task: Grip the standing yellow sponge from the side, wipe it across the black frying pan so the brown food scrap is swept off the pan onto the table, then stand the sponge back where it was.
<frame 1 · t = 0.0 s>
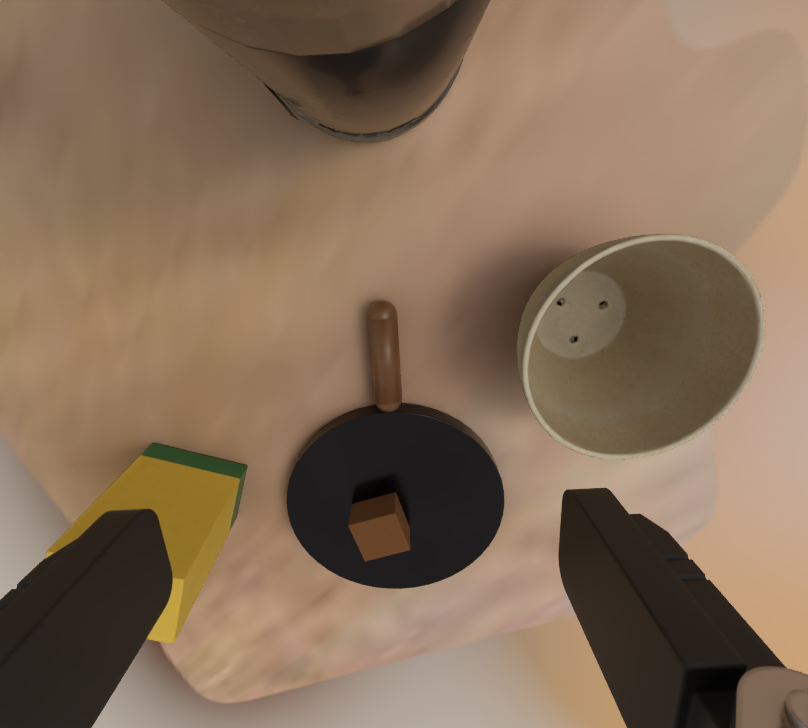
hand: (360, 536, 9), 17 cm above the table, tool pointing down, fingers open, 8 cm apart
flower pot: (576, 313, 25), on the table
crumb: (380, 515, 28), point 1 cm above the table, touching pan
sponge: (196, 481, 29), on the table
pan: (396, 496, 29), on the table
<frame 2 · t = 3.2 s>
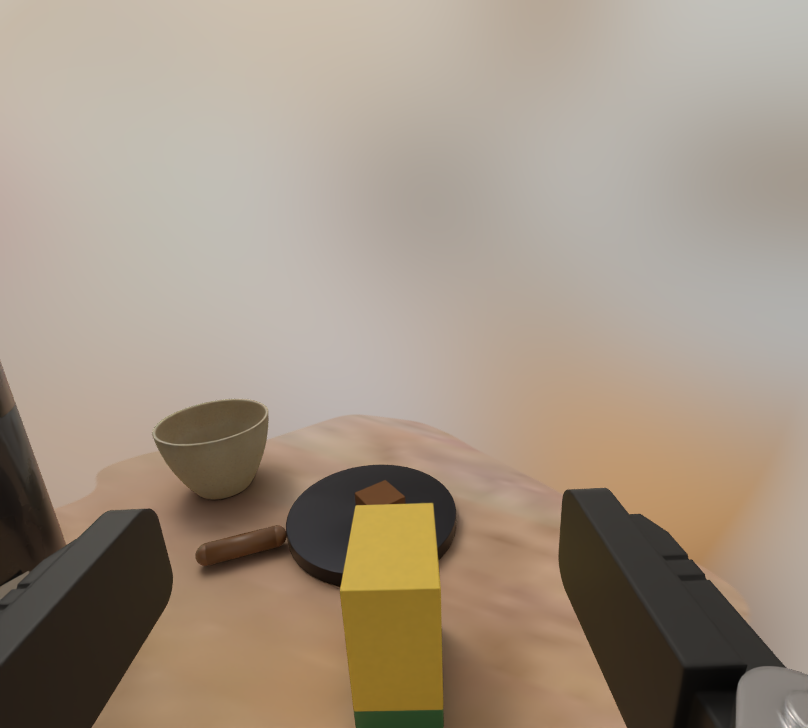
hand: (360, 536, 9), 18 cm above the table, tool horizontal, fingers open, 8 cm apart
flower pot: (226, 486, 43), on the table
crumb: (381, 515, 36), point 1 cm above the table, touching pan
sponge: (400, 671, 25), on the table
pan: (372, 521, 37), on the table
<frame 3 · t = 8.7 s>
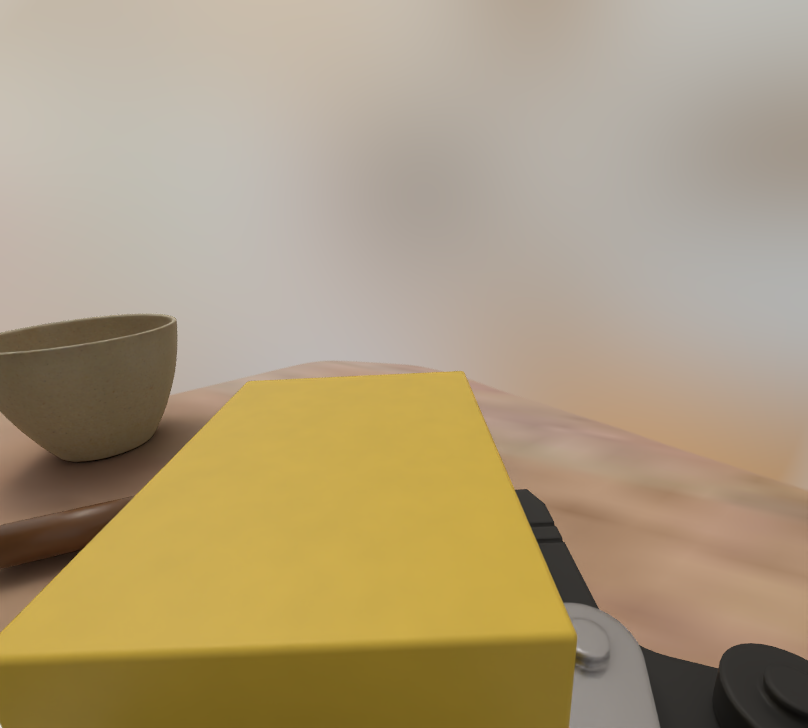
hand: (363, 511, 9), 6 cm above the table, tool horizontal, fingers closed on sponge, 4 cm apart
flower pot: (111, 444, 27), on the table
pan: (338, 487, 21), on the table
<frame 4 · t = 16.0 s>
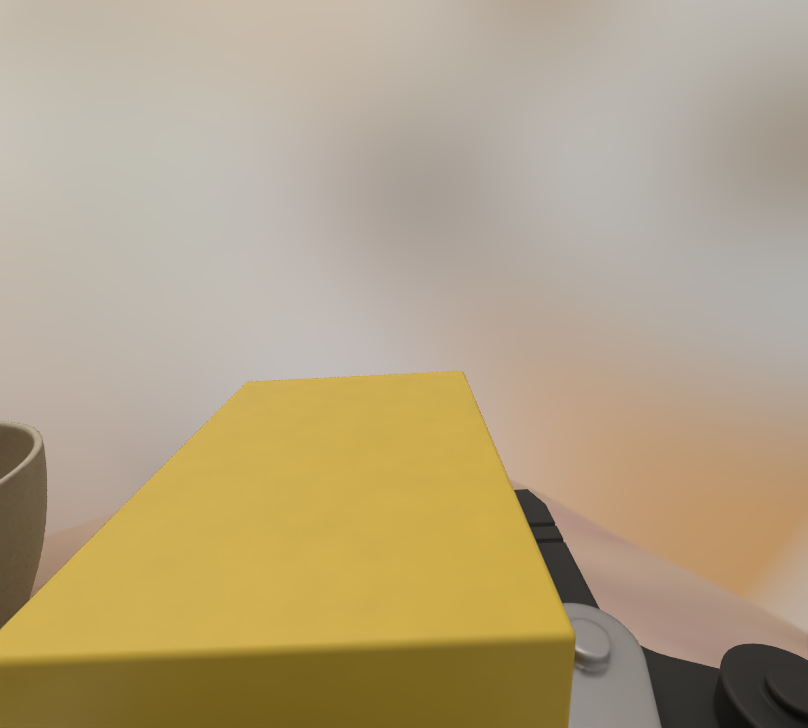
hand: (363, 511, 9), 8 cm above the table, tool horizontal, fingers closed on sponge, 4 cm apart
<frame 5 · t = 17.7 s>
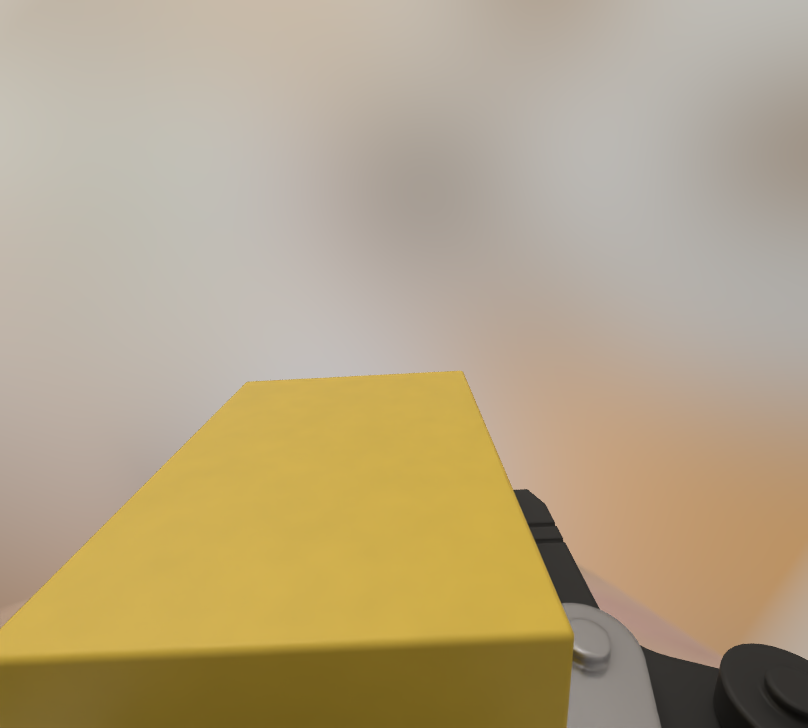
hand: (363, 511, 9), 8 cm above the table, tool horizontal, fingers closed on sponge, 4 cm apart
when the fingers open (6 cm above the table, at t = 25.9 s): sponge stays where it is, on the table.
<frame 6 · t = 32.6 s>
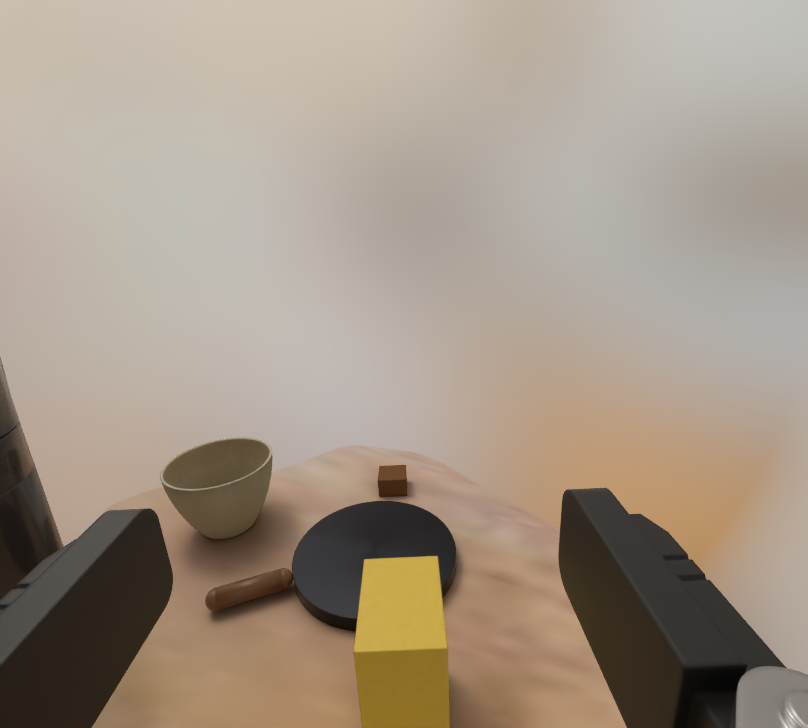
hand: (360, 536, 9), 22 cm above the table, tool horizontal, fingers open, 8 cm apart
flower pot: (231, 524, 44), on the table
crumb: (393, 488, 49), on the table
sponge: (408, 717, 26), on the table
pan: (375, 560, 38), on the table
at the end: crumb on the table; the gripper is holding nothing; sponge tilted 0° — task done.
